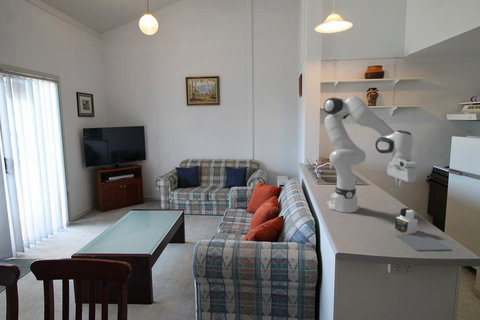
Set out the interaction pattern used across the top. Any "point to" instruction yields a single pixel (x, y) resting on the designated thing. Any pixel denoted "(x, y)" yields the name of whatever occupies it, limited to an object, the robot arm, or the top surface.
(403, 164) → the robot arm
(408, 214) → the medicine bottle
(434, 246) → the dark rubber mat
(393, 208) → the top surface
